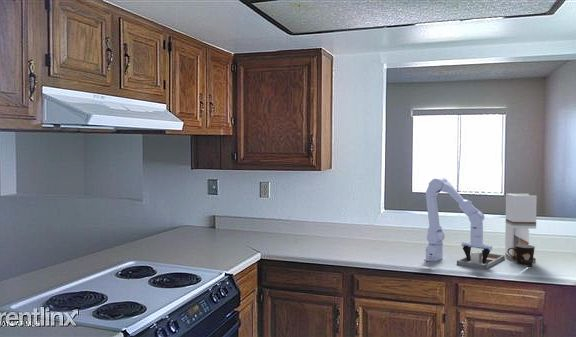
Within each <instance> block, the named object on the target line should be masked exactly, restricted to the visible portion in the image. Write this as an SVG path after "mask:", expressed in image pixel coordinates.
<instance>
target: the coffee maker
mask: <svg viewBox="0 0 576 337" xmlns="http://www.w3.org/2000/svg"><path fill="white" fill-rule="evenodd" d="M537 198H538V197H537V195H530V193H505V233H504V234H505V242H504V243H505V248H504V251H505V253H504V254H505V258H506V259H508V260H509V261H512V262H517V260H516V259H517V255H516V252H515V250H514V249H516V246H515V245H518V244H524V245H530V229H534V230H535V229H537V200H538V199H537ZM509 248H514V249H510V250H509V254H510V255H512V256H513V257H515V258H516V259H514V258H513V257H511V256H510V255H509V254H508V252H507V251H508V249H509ZM536 260H537V259H536V257H534V256H533V263H536Z"/></svg>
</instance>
